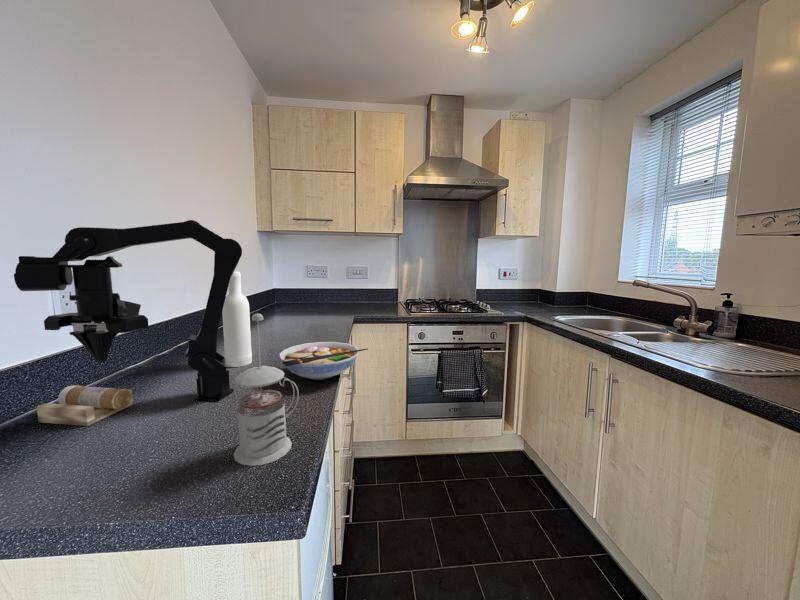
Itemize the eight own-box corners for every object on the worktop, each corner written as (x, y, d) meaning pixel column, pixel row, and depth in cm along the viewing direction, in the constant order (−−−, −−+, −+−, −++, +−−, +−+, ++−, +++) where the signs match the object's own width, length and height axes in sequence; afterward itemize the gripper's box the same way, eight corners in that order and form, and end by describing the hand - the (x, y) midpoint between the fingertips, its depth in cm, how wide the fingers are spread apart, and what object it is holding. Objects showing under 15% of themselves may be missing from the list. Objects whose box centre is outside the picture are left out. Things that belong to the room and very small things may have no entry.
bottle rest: (133, 404, 76) (131, 390, 75) (87, 426, 66) (85, 409, 65) (89, 401, 77) (88, 387, 76) (38, 422, 67) (36, 406, 67)
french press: (225, 448, 59) (217, 313, 56) (286, 425, 67) (282, 306, 64) (245, 473, 52) (236, 321, 49) (310, 445, 60) (307, 312, 57)
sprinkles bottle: (135, 399, 74) (82, 396, 76) (127, 384, 72) (74, 381, 74) (117, 414, 70) (62, 410, 72) (109, 398, 68) (52, 394, 70)
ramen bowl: (341, 358, 112) (341, 335, 111) (377, 378, 94) (377, 351, 93) (266, 372, 97) (265, 346, 96) (290, 400, 79) (289, 367, 78)
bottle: (251, 365, 103) (246, 272, 99) (223, 368, 100) (217, 272, 97) (252, 358, 111) (248, 271, 107) (226, 361, 108) (221, 271, 104)
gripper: (166, 287, 74) (172, 352, 76) (94, 285, 76) (101, 349, 78) (119, 292, 63) (127, 368, 65) (37, 289, 65) (47, 364, 67)
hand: (101, 361), depth 69 cm, fingers closed
